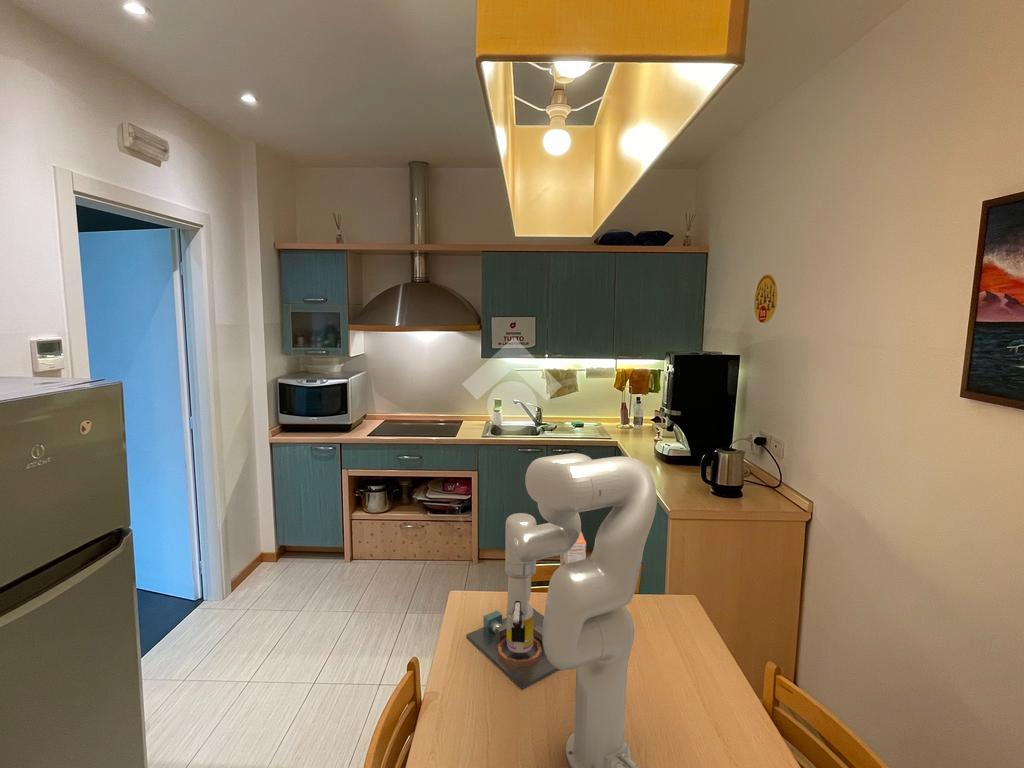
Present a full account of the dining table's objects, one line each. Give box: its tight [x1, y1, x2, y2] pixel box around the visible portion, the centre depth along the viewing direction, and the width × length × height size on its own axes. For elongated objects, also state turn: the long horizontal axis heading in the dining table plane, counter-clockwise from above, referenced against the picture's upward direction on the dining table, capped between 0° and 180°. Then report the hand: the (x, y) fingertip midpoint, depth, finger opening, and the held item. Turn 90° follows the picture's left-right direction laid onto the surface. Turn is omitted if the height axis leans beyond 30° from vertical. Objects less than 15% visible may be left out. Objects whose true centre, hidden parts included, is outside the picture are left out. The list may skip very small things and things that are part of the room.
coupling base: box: [465, 607, 561, 691], centre depth 136 cm, size 24×22×5 cm
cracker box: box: [559, 531, 587, 567], centre depth 158 cm, size 14×6×21 cm, turn 2°
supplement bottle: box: [506, 604, 534, 653], centre depth 131 cm, size 7×7×13 cm
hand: (520, 631), depth 131 cm, fingers closed on supplement bottle, 6 cm apart
